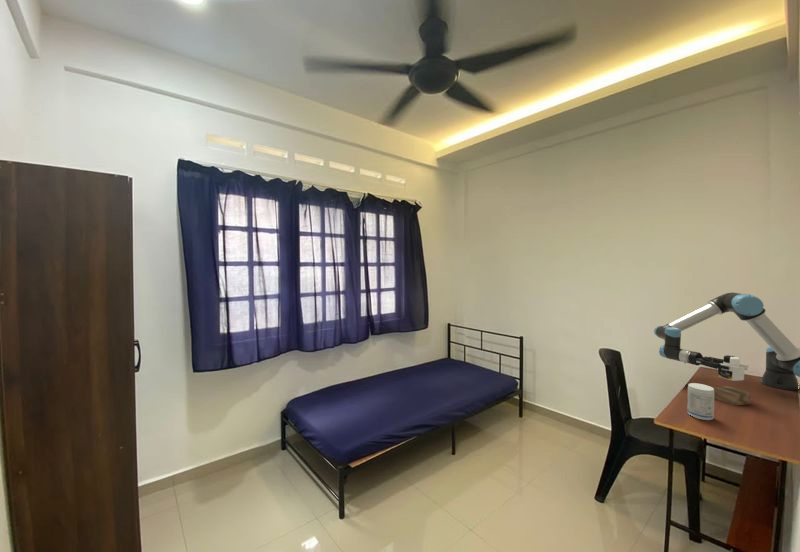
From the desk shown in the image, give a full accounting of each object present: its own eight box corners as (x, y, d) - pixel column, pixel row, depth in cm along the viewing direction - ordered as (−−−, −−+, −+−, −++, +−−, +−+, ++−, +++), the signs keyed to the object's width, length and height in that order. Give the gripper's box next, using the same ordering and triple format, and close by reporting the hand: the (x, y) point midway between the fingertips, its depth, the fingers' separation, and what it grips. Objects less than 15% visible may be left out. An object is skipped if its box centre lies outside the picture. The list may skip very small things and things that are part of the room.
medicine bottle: (717, 376, 178) (718, 354, 178) (729, 375, 179) (730, 354, 178) (731, 380, 171) (732, 358, 171) (744, 380, 172) (745, 358, 171)
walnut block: (727, 396, 181) (728, 385, 180) (750, 404, 171) (750, 393, 170) (713, 398, 179) (713, 387, 179) (734, 405, 169) (734, 394, 169)
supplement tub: (689, 410, 164) (689, 381, 164) (715, 416, 157) (716, 386, 156) (685, 415, 158) (685, 386, 158) (712, 423, 151) (712, 391, 150)
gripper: (701, 361, 196) (753, 373, 175) (679, 365, 188) (731, 378, 167) (701, 349, 195) (753, 359, 174) (680, 353, 187) (732, 364, 166)
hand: (742, 369), depth 171 cm, fingers closed on medicine bottle, 9 cm apart
